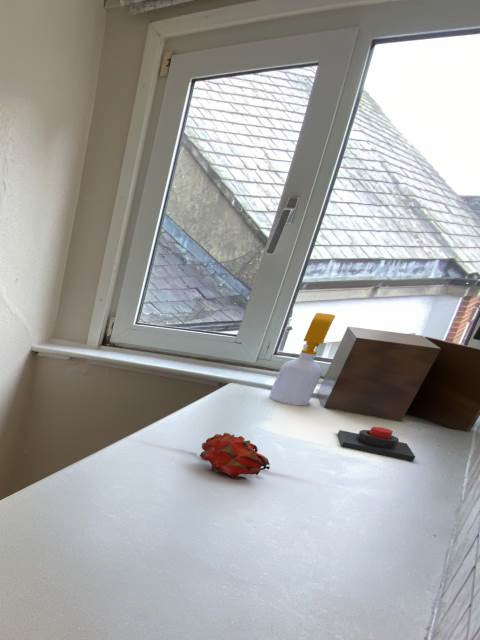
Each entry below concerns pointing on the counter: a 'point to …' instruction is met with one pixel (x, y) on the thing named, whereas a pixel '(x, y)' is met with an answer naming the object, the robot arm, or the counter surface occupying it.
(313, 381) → the soap bottle
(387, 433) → the button
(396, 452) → the red and black buzzer
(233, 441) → the dragon fruit
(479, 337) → the robot arm
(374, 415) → the cupboard
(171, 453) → the counter surface
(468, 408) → the door
